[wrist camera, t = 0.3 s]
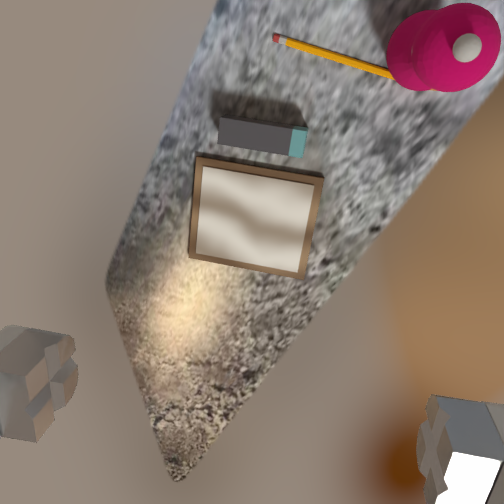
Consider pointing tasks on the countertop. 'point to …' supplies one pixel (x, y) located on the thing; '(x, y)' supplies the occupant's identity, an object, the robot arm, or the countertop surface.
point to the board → (253, 216)
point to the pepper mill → (444, 48)
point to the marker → (262, 135)
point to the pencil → (333, 56)
